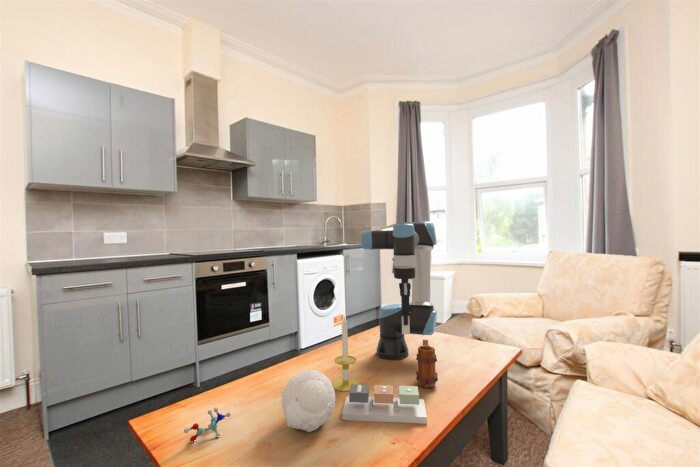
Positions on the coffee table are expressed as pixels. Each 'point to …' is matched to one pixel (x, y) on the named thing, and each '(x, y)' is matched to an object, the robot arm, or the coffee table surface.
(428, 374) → the mug
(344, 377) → the candle
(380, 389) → the tile terracotta
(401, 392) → the tile sage
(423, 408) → the board
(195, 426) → the molecular model
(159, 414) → the coffee table surface
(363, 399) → the tile charcoal
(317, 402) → the white rounded lump
